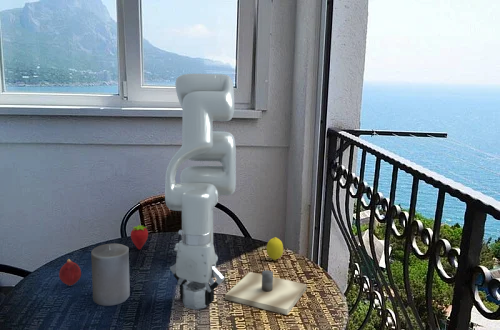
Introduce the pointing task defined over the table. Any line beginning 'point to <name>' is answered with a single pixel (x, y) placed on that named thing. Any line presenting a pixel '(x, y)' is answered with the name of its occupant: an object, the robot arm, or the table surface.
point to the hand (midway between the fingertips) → (196, 299)
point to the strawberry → (139, 236)
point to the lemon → (274, 248)
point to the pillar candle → (110, 274)
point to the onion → (70, 273)
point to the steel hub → (194, 295)
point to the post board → (267, 292)
